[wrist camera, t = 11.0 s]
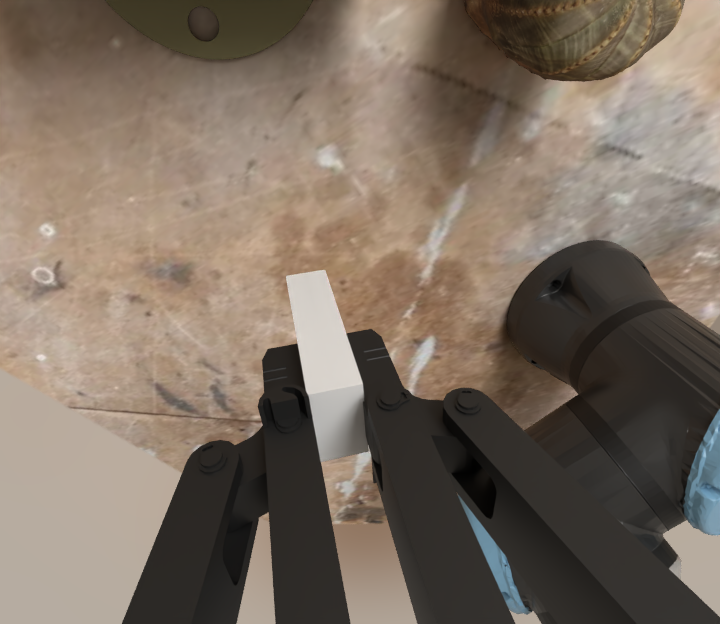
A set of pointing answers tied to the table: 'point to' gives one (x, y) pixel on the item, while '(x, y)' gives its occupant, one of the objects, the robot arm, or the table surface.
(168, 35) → the flange
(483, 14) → the green ball cactus
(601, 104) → the table surface
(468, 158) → the table surface
